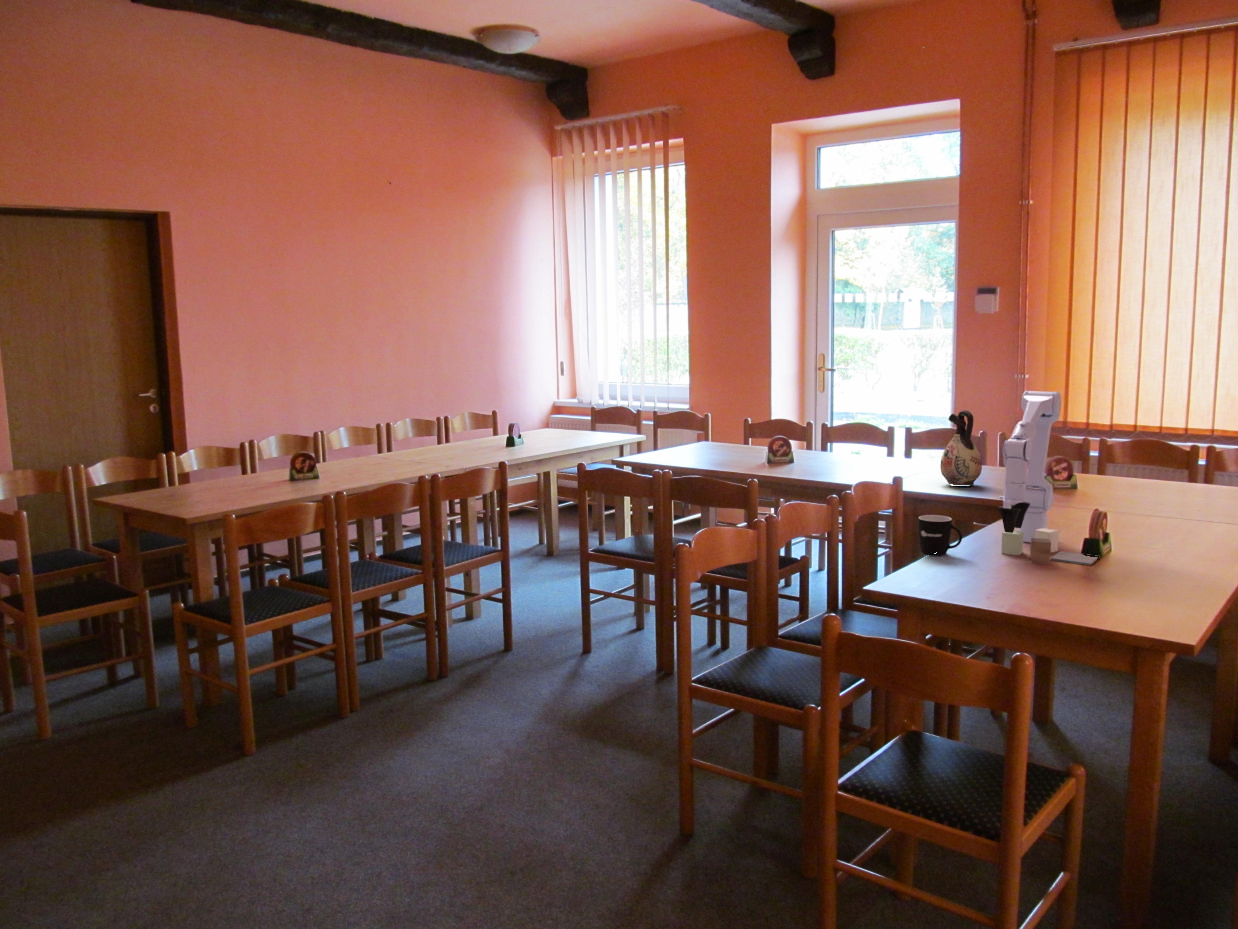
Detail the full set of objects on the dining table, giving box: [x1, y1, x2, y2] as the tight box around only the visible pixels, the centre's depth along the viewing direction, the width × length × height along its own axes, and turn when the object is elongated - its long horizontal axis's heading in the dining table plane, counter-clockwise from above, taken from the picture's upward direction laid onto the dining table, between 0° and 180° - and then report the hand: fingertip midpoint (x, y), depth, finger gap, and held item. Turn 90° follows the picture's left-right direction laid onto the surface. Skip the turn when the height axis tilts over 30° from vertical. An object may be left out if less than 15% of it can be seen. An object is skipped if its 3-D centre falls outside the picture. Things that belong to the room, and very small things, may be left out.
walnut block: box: [1029, 538, 1052, 565], centre depth 265 cm, size 4×4×6 cm
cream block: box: [1035, 527, 1060, 553], centre depth 278 cm, size 4×4×6 cm
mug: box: [917, 514, 963, 557], centre depth 275 cm, size 12×9×10 cm
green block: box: [1001, 530, 1024, 557], centre depth 276 cm, size 4×4×6 cm
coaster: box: [1050, 550, 1098, 566], centre depth 268 cm, size 10×10×1 cm
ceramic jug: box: [939, 409, 983, 486], centre depth 382 cm, size 17×15×30 cm
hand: (1013, 530), depth 275 cm, fingers open, 7 cm apart
